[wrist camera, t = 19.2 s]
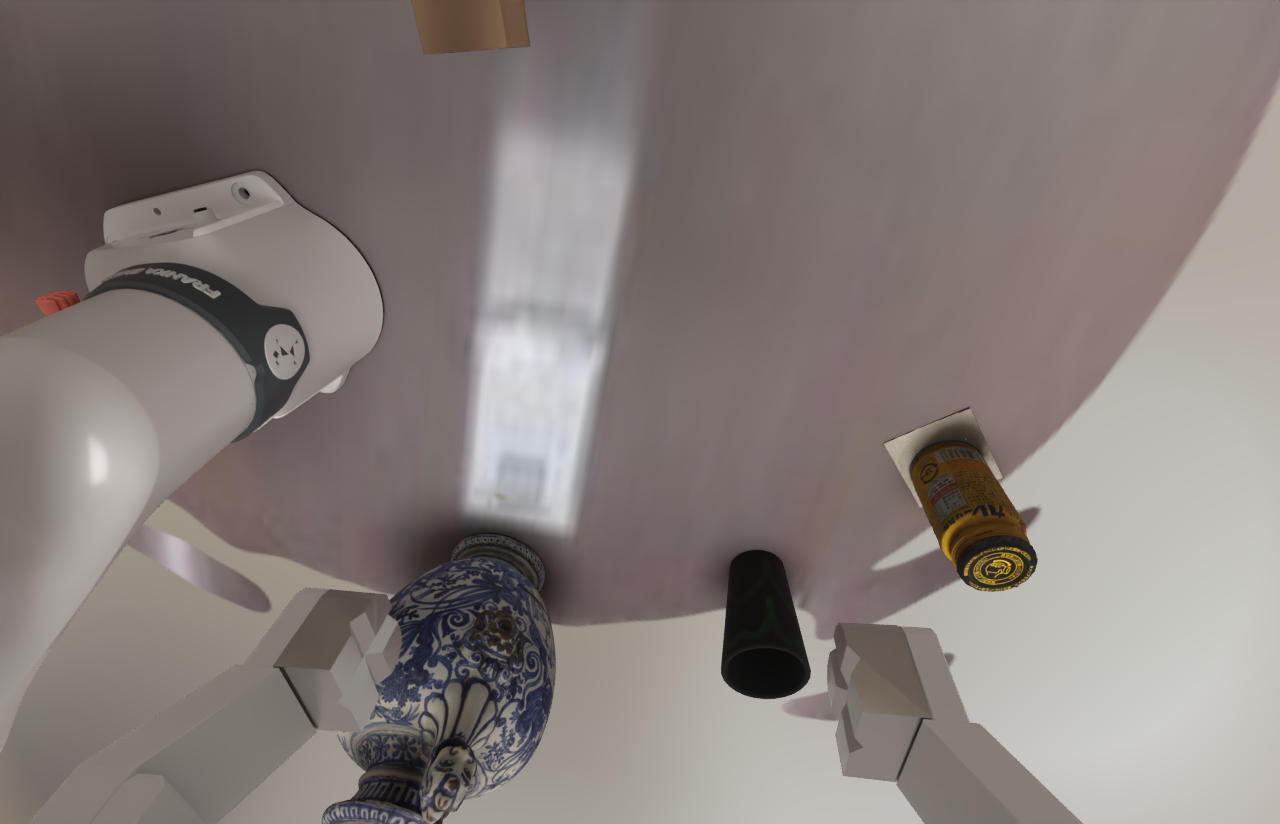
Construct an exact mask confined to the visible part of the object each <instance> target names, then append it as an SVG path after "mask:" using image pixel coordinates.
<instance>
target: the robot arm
mask: <svg viewBox="0 0 1280 824" xmlns="http://www.w3.org/2000/svg"><path fill="white" fill-rule="evenodd" d="M245 189H247V190H248V192H249V194H250V196H248V195H247V194H246V192H245ZM103 231H104V239H105V244H106V245H104V246H101V247H98V248H96V249H93V250H91V251H90V252H89V253H88V254H87V256H86V260H85V268H84V271H85V279H86V282H87V286H88V289H89V292H90V293H89V294H88V295H86V297H85V298H84V299H83V301H82V302H80V300H79V298H78V296H77V294H76V292H74V291H58V292H53V293H49V294H46V295H43V296H40V297H38V298H37V299H36V300H35V303H36V304H37V306H38V307H39V309H40V310H41V311H42V312H43V313H44V314H45V315H46V317H44V318H42V319H39V320H37V321H35V322H32V323H30V324H28V325H25V326H23V327H21V328H18V329H16V330H14V331H11V332H9V333H7V334H4V335H2V336H0V753H1V751H2V749H3V747H4V745H5V743H6V741H7V738H8V735H9V733H10V730H11V727H12V724H13V721H14V718H15V716H16V713H17V711H18V708H19V706H20V704H21V701H22V699H23V697H24V695H25V693H26V691H27V689H28V687H29V685H30V683H31V681H32V679H33V678H34V676H35V674H36V673H37V671H38V669H39V668H40V666H41V664H42V663H43V661H44V659H45V658H46V656H47V655H48V654H49V652H50V651H51V649H52V648H53V646H54V645H55V643H56V642H57V641H58V639H59V638H60V636H61V635H62V633H63V632H64V631H65V629H66V628H67V626H68V625H69V623H70V622H71V621H72V619H73V618H74V616H75V615H76V613H77V612H78V611H79V609H80V608H81V606H82V605H83V604H84V602H85V601H86V600H87V598H88V597H89V595H90V594H91V593H92V591H93V590H94V588H95V587H96V586H97V584H98V583H99V581H100V580H101V579H102V577H103V576H104V574H105V573H106V572H107V570H108V569H109V568H110V566H111V565H112V563H113V562H114V561H115V559H116V558H117V557H118V555H119V554H120V553H121V551H122V550H123V548H124V547H125V546H126V545H127V543H128V542H129V541H130V539H131V538H132V537H133V536H134V534H135V533H136V532H137V531H138V529H139V528H140V527H141V526H142V525H143V523H144V522H145V521H146V520H147V518H148V517H149V516H150V515H151V514H152V513H153V512H154V511H155V510H156V509H157V508H158V507H159V506H160V505H161V504H162V503H163V502H164V500H166V499H167V498H168V497H169V496H170V495H171V494H172V493H174V492H175V491H176V490H177V489H178V488H179V487H180V486H181V485H183V484H184V483H185V482H186V481H187V480H188V479H189V478H190V477H192V476H193V475H194V474H195V473H196V472H197V471H198V470H199V469H201V468H202V467H203V466H204V465H205V464H206V463H207V462H208V461H210V460H211V459H212V458H213V457H214V456H215V455H217V454H218V453H219V452H220V451H221V450H222V449H223V448H225V447H226V446H227V445H228V444H229V443H234V442H237V441H239V440H242V439H243V438H245V437H247V436H248V435H250V434H251V433H253V432H255V431H256V430H258V429H260V428H261V427H262V426H264V425H265V424H266V423H268V422H269V421H270V420H271V419H272V418H281V417H283V416H285V415H287V414H288V413H290V412H291V411H293V410H294V409H296V408H297V407H298V406H300V405H301V404H303V403H304V402H306V401H307V400H308V399H310V398H311V397H313V396H314V395H315V394H317V393H318V392H324V393H333V392H335V391H336V390H338V389H339V388H340V387H342V386H343V384H344V383H345V381H346V379H347V376H348V373H349V371H350V368H351V367H352V366H353V365H354V364H355V363H356V362H357V361H359V360H360V359H362V358H363V357H364V356H365V355H367V354H368V353H369V352H370V351H371V349H372V348H373V347H374V345H375V344H376V342H377V340H378V338H379V335H380V332H381V329H382V323H383V306H382V299H381V295H380V291H379V288H378V285H377V283H376V280H375V278H374V276H373V274H372V272H371V270H370V268H369V266H368V265H367V263H366V261H365V260H364V259H363V257H362V256H361V254H360V253H359V252H358V250H357V249H356V248H355V247H354V246H353V245H352V243H351V242H350V241H349V240H348V239H347V238H346V237H345V236H343V235H342V234H341V233H340V232H339V231H338V230H337V229H335V228H334V227H333V226H331V225H330V224H329V223H327V222H326V221H324V220H323V219H321V218H319V217H318V216H316V215H314V214H313V213H311V212H309V211H308V210H306V209H304V208H303V207H301V206H300V205H299V204H297V203H296V202H295V201H294V200H293V199H292V197H291V196H290V195H289V194H288V193H287V192H286V191H285V190H284V189H283V188H282V187H281V186H280V185H279V184H278V183H277V182H276V181H275V180H274V179H273V178H272V177H271V176H269V175H268V174H266V173H264V172H262V171H251V172H247V173H244V174H240V175H236V176H232V177H228V178H224V179H220V180H216V181H212V182H208V183H204V184H200V185H197V186H193V187H189V188H185V189H181V190H177V191H173V192H169V193H165V194H161V195H157V196H153V197H149V198H146V199H142V200H138V201H134V202H130V203H126V204H122V205H119V206H116V207H114V208H112V209H109V210H107V211H106V212H105V214H104V221H103ZM391 607H392V605H391V603H390V601H389V599H388V596H387V595H386V594H375V593H363V592H353V591H340V590H332V589H318V588H304V589H303V590H302V591H300V592H298V593H297V594H296V595H295V596H294V597H293V599H292V600H291V601H290V603H289V604H288V605H287V607H286V608H285V609H284V611H283V612H282V613H281V615H280V616H279V617H278V619H277V620H276V621H275V623H274V624H273V625H272V627H271V628H270V629H269V631H268V632H267V633H266V635H265V636H264V637H263V639H262V640H261V641H260V643H259V644H258V645H257V647H256V648H255V649H254V651H253V652H252V653H251V655H250V656H249V657H248V659H247V660H246V661H245V663H244V664H243V665H234V666H232V667H230V668H229V669H227V670H226V671H224V672H223V673H221V674H219V675H218V676H217V677H215V678H213V679H212V680H210V681H209V682H207V683H205V684H204V685H202V686H201V687H199V688H198V689H196V690H194V691H193V692H191V693H190V694H188V695H187V696H185V697H184V698H182V699H180V700H179V701H177V702H176V703H174V704H173V705H171V706H169V707H168V708H166V709H165V710H163V711H162V712H160V713H159V714H157V715H155V716H154V717H152V718H151V719H149V720H148V721H146V722H144V723H143V724H141V725H140V726H138V727H137V728H135V729H134V730H132V731H130V732H129V733H128V734H126V735H124V736H123V737H121V738H119V739H118V740H116V741H115V742H113V743H112V744H110V745H109V746H107V747H105V748H104V749H102V750H101V751H99V752H98V753H96V754H94V755H93V756H91V757H90V758H88V759H87V760H85V761H83V762H82V763H80V764H79V765H78V766H77V767H76V769H75V770H74V771H73V772H72V773H71V774H70V776H69V777H68V778H67V779H66V780H65V781H64V782H63V784H62V785H61V786H60V787H59V788H58V790H56V792H55V793H54V794H53V795H52V796H51V798H50V799H49V800H48V801H47V802H46V803H45V804H44V805H43V807H42V808H41V809H40V810H39V811H38V812H37V813H36V814H35V816H34V817H33V818H32V819H31V820H30V821H29V823H28V824H217V823H218V822H219V821H220V820H221V819H223V818H224V817H225V816H226V815H227V814H228V813H229V812H230V811H231V810H232V809H233V808H235V807H236V806H237V805H238V804H239V803H240V802H241V801H242V800H243V799H244V798H246V797H247V796H248V795H249V794H250V793H251V792H252V791H253V790H254V789H255V788H256V787H258V786H259V785H260V784H261V783H262V782H263V781H264V780H265V779H266V778H267V777H268V776H269V775H271V774H272V773H273V772H274V771H275V770H276V769H277V768H278V767H279V766H280V765H282V764H283V763H284V762H285V761H286V760H287V759H288V758H289V757H290V756H291V755H292V754H294V753H295V752H296V751H297V750H298V749H299V748H300V747H301V746H302V745H303V744H305V742H307V741H308V740H309V739H310V738H311V737H312V736H313V735H314V734H315V733H316V730H329V731H346V732H362V731H363V729H364V727H365V725H366V723H367V721H368V719H369V717H370V715H371V713H372V711H373V709H374V707H375V705H376V703H377V701H378V699H379V697H380V695H379V690H378V684H379V683H380V682H382V681H383V680H384V679H385V678H387V677H388V676H389V675H391V673H392V671H393V669H394V667H395V665H396V663H397V661H398V658H399V654H400V649H401V645H402V635H401V629H400V626H399V623H398V622H397V621H396V620H395V619H393V618H392V617H391V616H389V615H388V613H389V611H390V609H391ZM834 640H835V645H836V649H834V650H833V651H831V652H830V655H829V660H828V666H827V685H828V695H829V701H830V707H831V709H832V711H833V712H834V713H835V714H836V715H837V716H838V718H839V723H838V727H837V731H836V740H837V746H838V751H839V757H840V762H841V767H842V773H843V776H850V777H858V778H866V779H875V780H883V781H892V782H897V786H898V787H899V789H900V790H901V792H902V793H903V795H904V796H905V797H906V799H907V800H908V801H909V803H910V804H911V806H912V807H913V808H914V810H915V811H916V812H917V814H918V815H919V817H920V818H921V819H922V821H923V822H924V823H925V824H1083V823H1082V822H1081V821H1080V820H1079V819H1077V818H1076V817H1075V816H1074V815H1073V814H1072V813H1071V812H1070V811H1069V810H1068V809H1067V808H1066V807H1065V806H1064V805H1063V804H1062V803H1061V802H1060V801H1059V800H1058V799H1057V798H1056V797H1055V796H1054V795H1053V794H1052V793H1051V792H1050V791H1049V790H1048V789H1047V788H1046V787H1044V786H1043V785H1042V784H1041V783H1040V782H1039V781H1038V780H1037V779H1036V778H1035V777H1034V776H1033V775H1032V774H1031V773H1030V772H1029V771H1028V770H1027V769H1026V768H1025V767H1024V766H1023V765H1022V764H1021V763H1020V762H1019V761H1017V759H1016V758H1015V757H1013V756H1012V755H1011V754H1010V753H1009V752H1008V751H1007V750H1006V749H1005V748H1004V747H1003V746H1002V745H1001V744H1000V743H999V742H998V741H997V740H996V739H995V738H994V737H993V736H992V735H991V734H990V733H989V732H988V731H987V730H986V729H985V728H984V727H983V726H981V725H980V724H976V723H970V722H969V719H968V716H967V714H966V711H965V708H964V706H963V703H962V701H961V698H960V695H959V693H958V690H957V688H956V685H955V682H954V680H953V677H952V675H951V672H950V669H949V667H948V664H947V661H946V659H945V656H944V654H943V651H942V649H941V646H940V643H939V641H938V638H937V636H936V634H935V633H934V631H933V630H932V629H930V628H918V627H898V626H896V625H878V624H858V623H838V625H837V626H836V629H835V633H834Z"/></svg>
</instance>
